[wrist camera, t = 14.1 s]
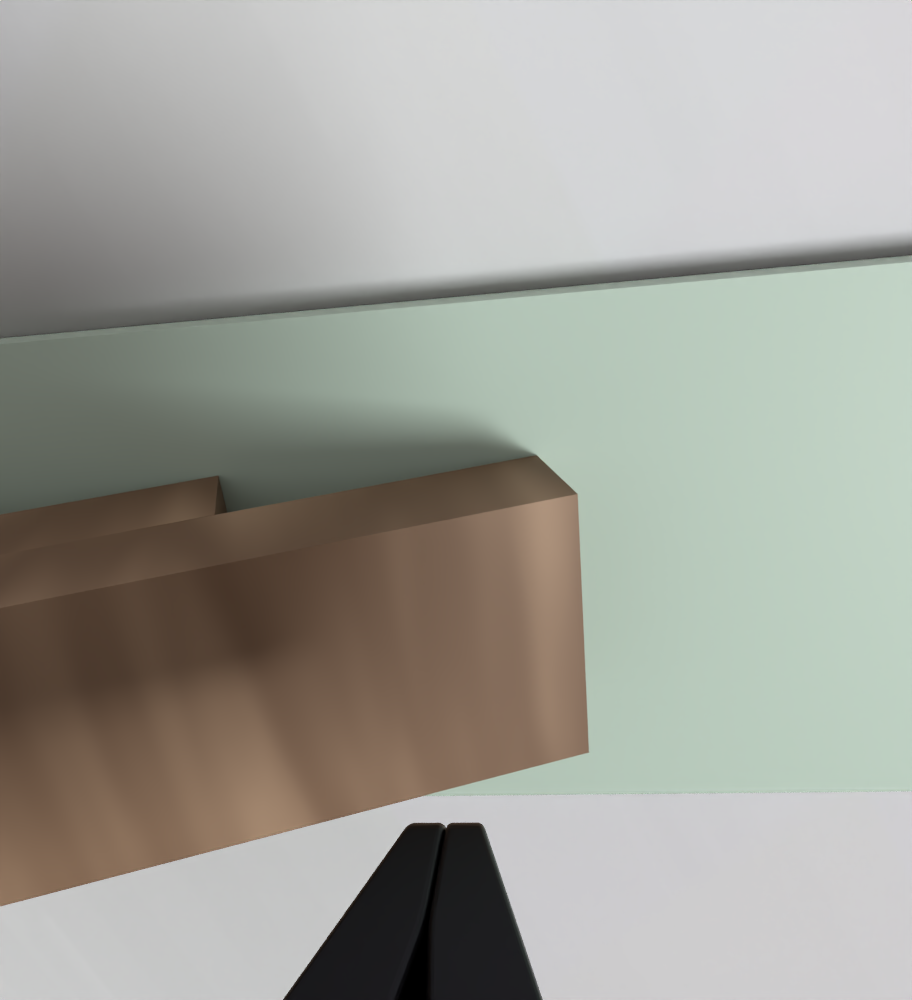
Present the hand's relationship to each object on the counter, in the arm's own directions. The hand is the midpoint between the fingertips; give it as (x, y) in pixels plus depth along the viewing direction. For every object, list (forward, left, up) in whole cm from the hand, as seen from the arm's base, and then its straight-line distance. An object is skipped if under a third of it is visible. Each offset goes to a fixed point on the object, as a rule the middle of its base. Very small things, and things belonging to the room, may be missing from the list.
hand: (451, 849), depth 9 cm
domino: (0, -1, -5) cm, 5 cm away
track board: (0, +8, -6) cm, 11 cm away
